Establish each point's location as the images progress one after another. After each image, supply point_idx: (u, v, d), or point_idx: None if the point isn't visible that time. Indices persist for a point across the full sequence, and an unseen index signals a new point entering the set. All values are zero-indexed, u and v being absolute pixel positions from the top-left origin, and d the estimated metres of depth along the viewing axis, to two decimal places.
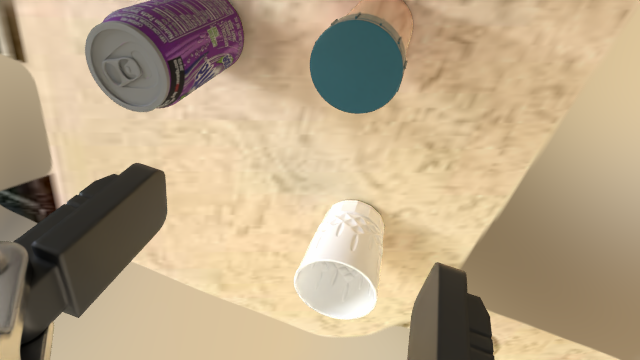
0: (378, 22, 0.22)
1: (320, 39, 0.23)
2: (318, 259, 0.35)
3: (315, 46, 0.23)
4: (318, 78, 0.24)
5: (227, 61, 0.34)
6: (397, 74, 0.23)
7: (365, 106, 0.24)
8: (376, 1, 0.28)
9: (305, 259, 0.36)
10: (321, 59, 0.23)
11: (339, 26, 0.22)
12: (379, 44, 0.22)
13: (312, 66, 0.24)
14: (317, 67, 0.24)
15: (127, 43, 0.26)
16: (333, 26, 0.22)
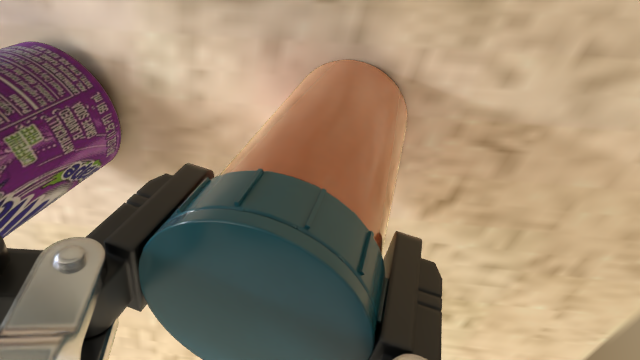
0: (301, 219, 0.08)
1: (149, 249, 0.08)
2: None
3: (142, 260, 0.09)
4: (168, 317, 0.10)
5: (81, 171, 0.19)
6: (359, 347, 0.08)
7: None
8: (328, 94, 0.13)
9: None
10: (163, 286, 0.09)
11: (189, 230, 0.08)
12: (304, 283, 0.08)
13: (148, 295, 0.09)
14: (159, 299, 0.09)
15: None
16: (174, 227, 0.08)
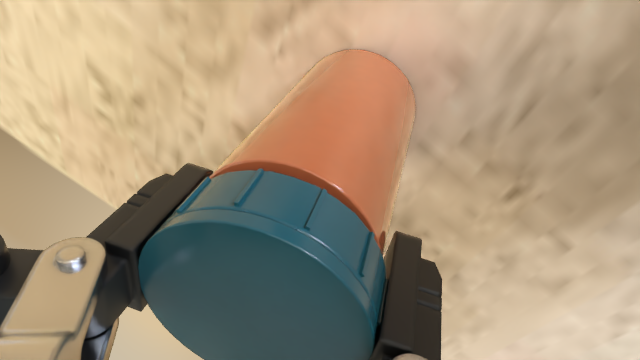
0: (301, 220, 0.08)
1: (149, 249, 0.08)
2: None
3: (142, 260, 0.09)
4: (168, 316, 0.10)
5: None
6: (359, 348, 0.08)
7: None
8: None
9: None
10: (162, 285, 0.09)
11: (188, 230, 0.08)
12: (303, 284, 0.08)
13: (147, 294, 0.09)
14: (159, 298, 0.09)
15: None
16: (173, 227, 0.08)
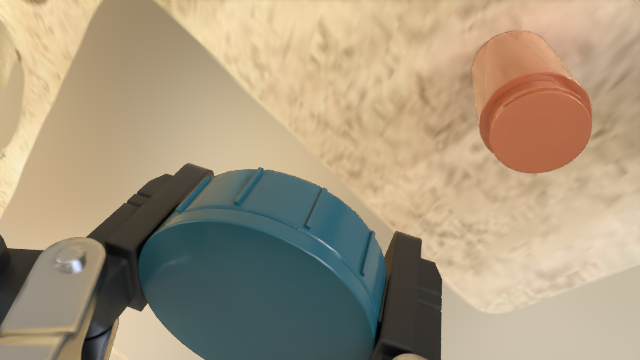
0: (301, 219, 0.08)
1: (149, 248, 0.08)
2: None
3: (142, 259, 0.09)
4: (168, 316, 0.10)
5: None
6: (359, 347, 0.08)
7: None
8: None
9: None
10: (162, 285, 0.09)
11: (188, 230, 0.08)
12: (304, 283, 0.08)
13: (148, 294, 0.09)
14: (159, 298, 0.09)
15: None
16: (173, 227, 0.08)
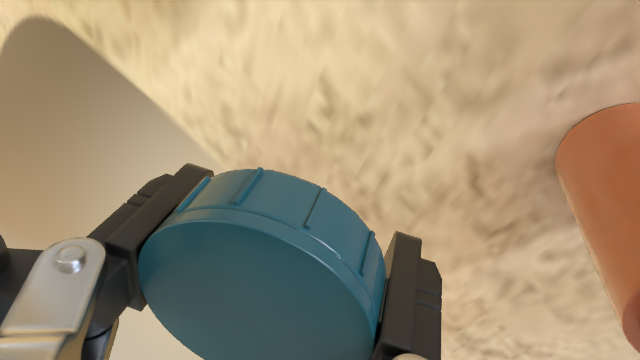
0: (301, 219, 0.08)
1: (148, 248, 0.08)
2: None
3: (141, 259, 0.09)
4: (168, 316, 0.10)
5: None
6: (359, 348, 0.08)
7: None
8: None
9: None
10: (162, 285, 0.09)
11: (188, 229, 0.08)
12: (303, 283, 0.08)
13: (147, 294, 0.09)
14: (159, 298, 0.09)
15: None
16: (173, 226, 0.08)
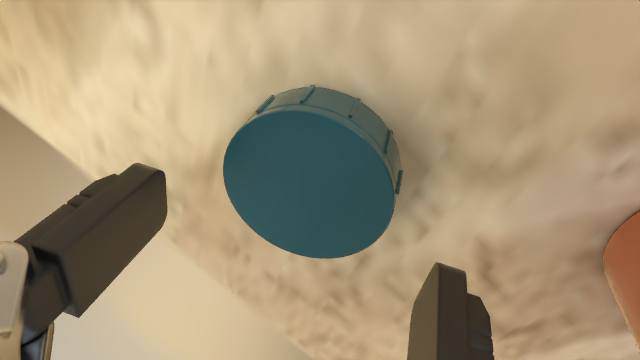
0: (345, 112, 0.11)
1: (236, 139, 0.12)
2: None
3: (229, 150, 0.12)
4: (241, 200, 0.13)
5: None
6: (383, 207, 0.12)
7: (327, 249, 0.13)
8: None
9: None
10: (241, 171, 0.13)
11: (269, 120, 0.11)
12: (347, 156, 0.11)
13: (228, 181, 0.13)
14: (237, 183, 0.13)
15: None
16: (258, 119, 0.11)
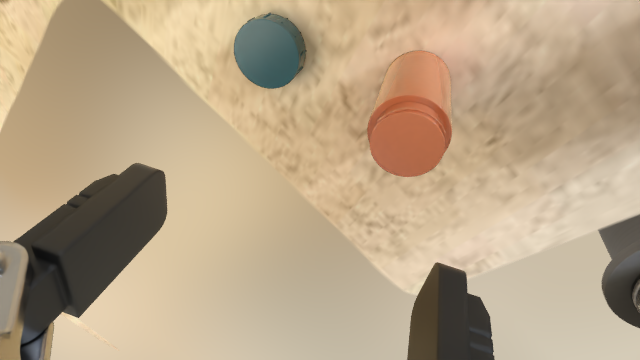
0: (280, 21, 0.31)
1: (239, 32, 0.31)
2: None
3: (236, 37, 0.32)
4: (240, 61, 0.33)
5: None
6: (295, 59, 0.31)
7: (275, 83, 0.33)
8: None
9: None
10: (241, 46, 0.32)
11: (252, 23, 0.31)
12: (280, 37, 0.31)
13: (235, 52, 0.32)
14: (239, 52, 0.32)
15: None
16: (248, 23, 0.31)
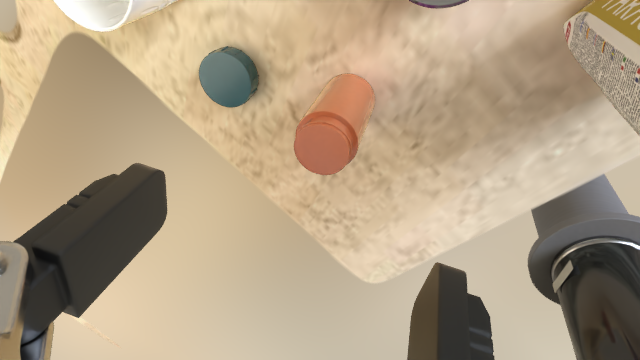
0: (234, 53, 0.38)
1: (202, 62, 0.39)
2: None
3: (200, 66, 0.39)
4: (205, 85, 0.40)
5: None
6: (248, 83, 0.38)
7: (234, 102, 0.40)
8: None
9: None
10: (204, 74, 0.39)
11: (211, 55, 0.38)
12: (235, 66, 0.38)
13: (200, 78, 0.40)
14: (203, 79, 0.39)
15: None
16: (208, 55, 0.38)
